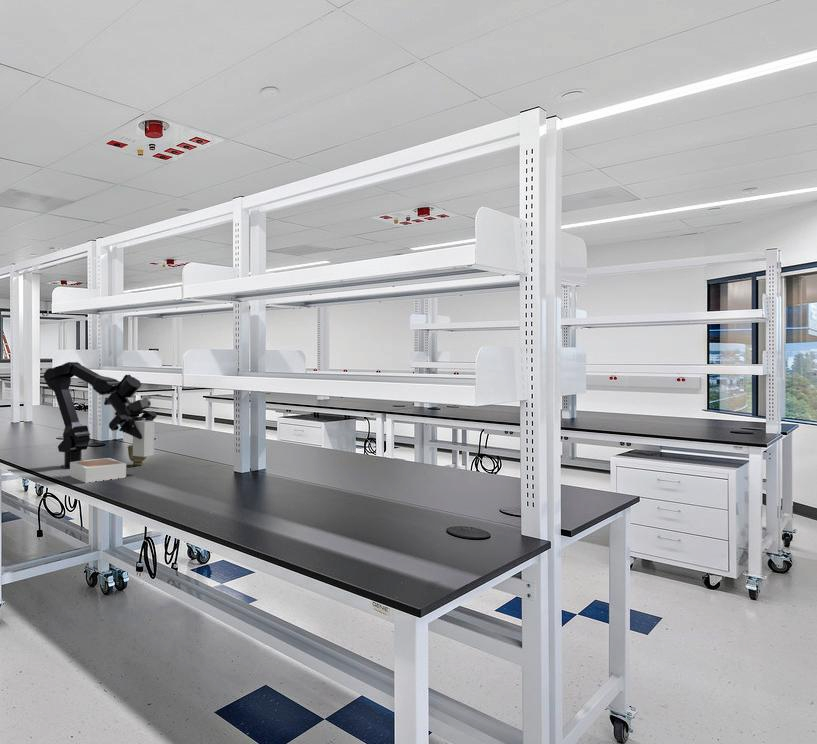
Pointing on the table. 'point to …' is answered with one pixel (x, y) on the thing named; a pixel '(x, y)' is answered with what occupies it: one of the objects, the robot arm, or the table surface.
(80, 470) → the trapdoor frame
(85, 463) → the trapdoor
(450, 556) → the table surface
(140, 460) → the cup
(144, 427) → the stone pillar
